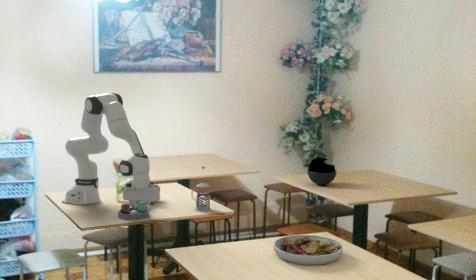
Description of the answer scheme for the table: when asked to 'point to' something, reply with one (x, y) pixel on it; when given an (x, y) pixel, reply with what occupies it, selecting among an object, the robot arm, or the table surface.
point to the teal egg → (141, 207)
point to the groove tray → (133, 214)
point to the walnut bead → (125, 208)
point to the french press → (202, 198)
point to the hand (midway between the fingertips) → (141, 208)
